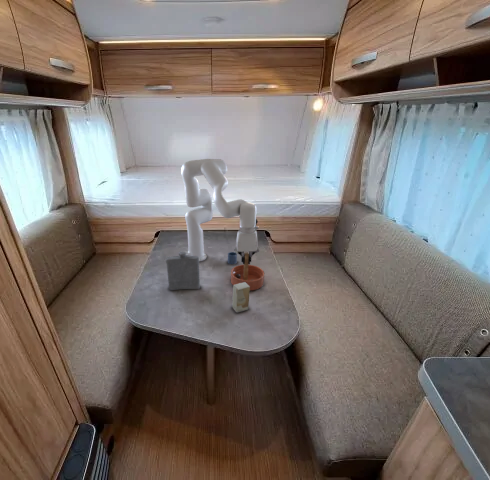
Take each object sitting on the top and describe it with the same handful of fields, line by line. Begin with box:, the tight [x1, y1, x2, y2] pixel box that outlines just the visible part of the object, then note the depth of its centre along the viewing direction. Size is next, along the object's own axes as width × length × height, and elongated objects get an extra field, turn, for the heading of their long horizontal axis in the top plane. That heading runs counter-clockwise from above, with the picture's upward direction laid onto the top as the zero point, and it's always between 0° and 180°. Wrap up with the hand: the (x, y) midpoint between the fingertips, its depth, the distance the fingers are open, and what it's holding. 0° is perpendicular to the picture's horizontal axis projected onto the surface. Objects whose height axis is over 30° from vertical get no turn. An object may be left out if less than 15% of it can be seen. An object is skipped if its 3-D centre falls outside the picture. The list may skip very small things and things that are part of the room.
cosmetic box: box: [231, 282, 251, 313], centre depth 119 cm, size 6×4×12 cm
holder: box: [227, 251, 238, 265], centre depth 160 cm, size 5×6×6 cm
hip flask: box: [165, 250, 201, 291], centre depth 134 cm, size 16×4×20 cm, turn 92°
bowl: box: [230, 264, 265, 291], centre depth 140 cm, size 17×17×6 cm
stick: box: [243, 252, 249, 281], centre depth 135 cm, size 2×2×16 cm
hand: (246, 262), depth 134 cm, fingers closed on stick, 2 cm apart
